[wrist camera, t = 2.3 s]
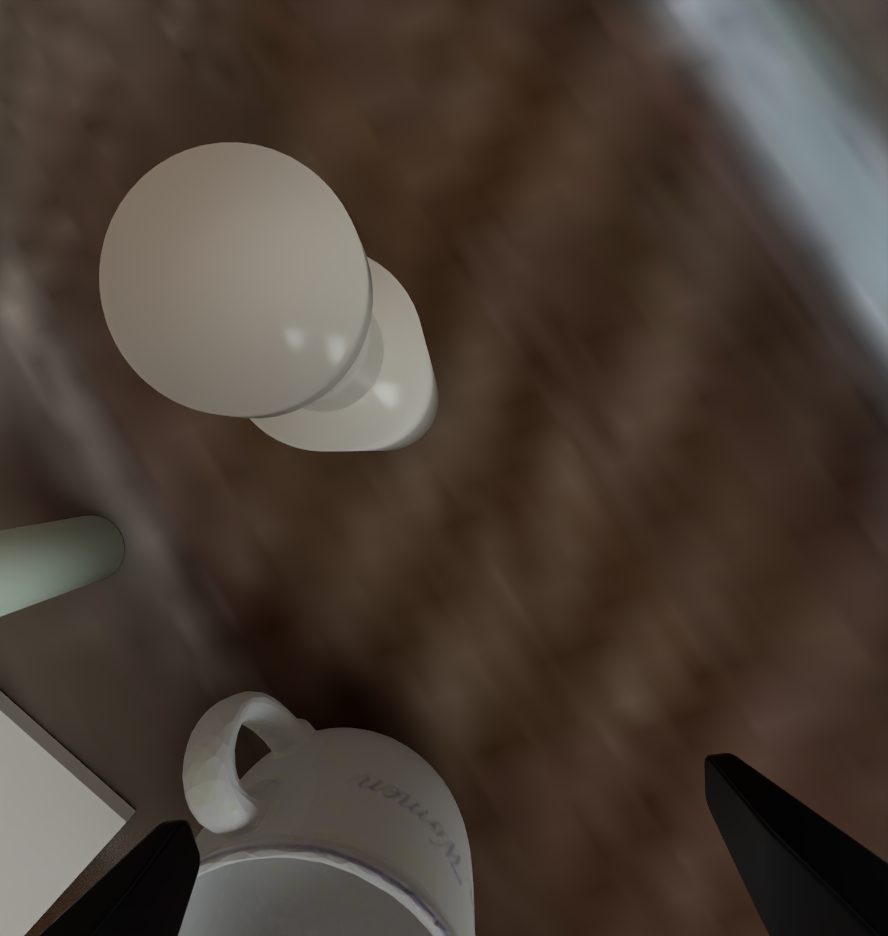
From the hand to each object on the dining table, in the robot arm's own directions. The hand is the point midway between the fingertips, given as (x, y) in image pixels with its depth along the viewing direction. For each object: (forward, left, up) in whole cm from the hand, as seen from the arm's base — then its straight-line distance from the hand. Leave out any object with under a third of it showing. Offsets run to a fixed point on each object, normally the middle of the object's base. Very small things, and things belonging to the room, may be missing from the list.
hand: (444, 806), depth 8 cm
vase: (+8, -4, -12) cm, 15 cm away
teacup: (-2, +10, -12) cm, 16 cm away
